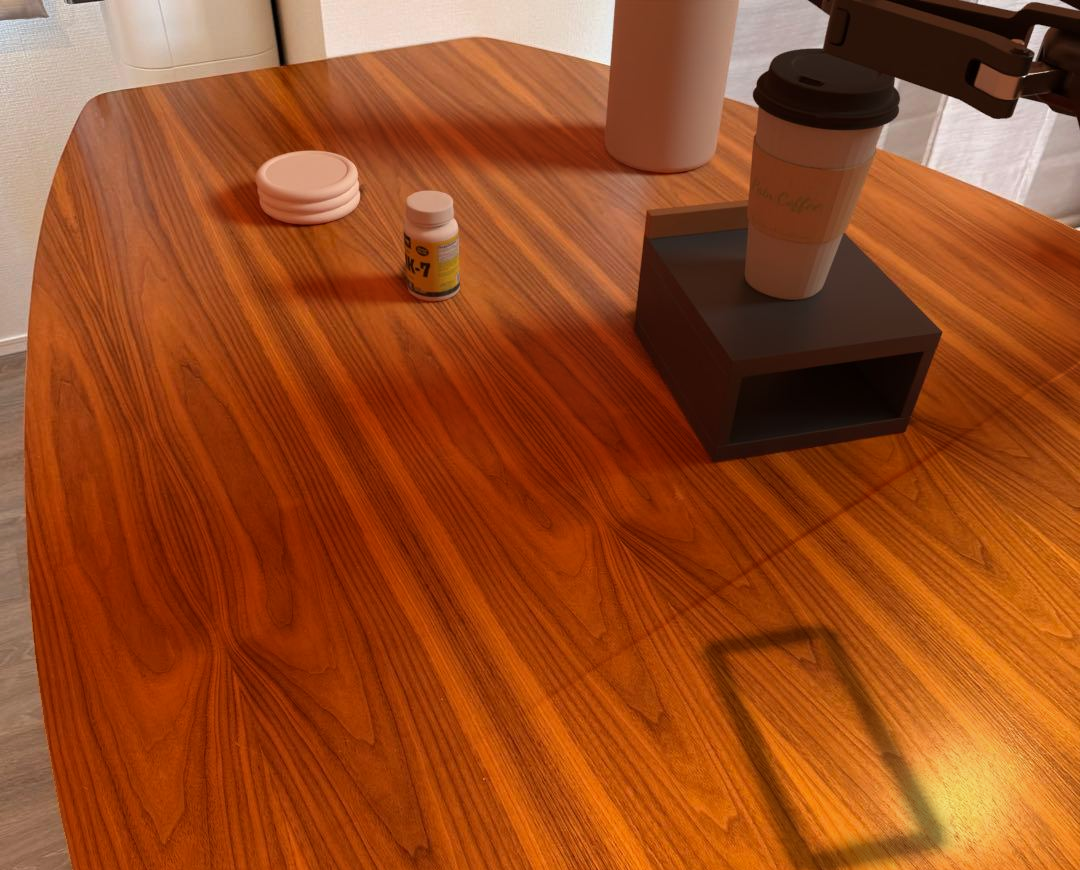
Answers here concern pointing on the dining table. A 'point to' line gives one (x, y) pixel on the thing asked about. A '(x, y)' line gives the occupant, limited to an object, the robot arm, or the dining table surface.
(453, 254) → the supplement bottle
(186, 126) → the dining table surface
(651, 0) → the cylinder vase
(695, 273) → the dark brown hollow box
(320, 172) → the coaster
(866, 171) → the coffee cup
